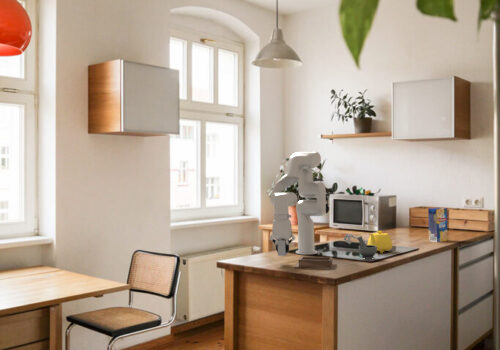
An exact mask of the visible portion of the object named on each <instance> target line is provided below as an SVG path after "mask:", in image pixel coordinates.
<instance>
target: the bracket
mask: <svg viewBox="0 0 500 350" xmlns="http://www.w3.org/2000/svg"><path fill="white" fill-rule="evenodd" d="M358 237H359V236H358V235H355V234H352V233H350V234H349V233H346V234H345V235H344V238H343V241H344V242H346V243H347V244H349V245H351V244H352V243H353V241H352V238H353V239H355V240H358V239H357V238H358ZM362 239H363V241H364V242H365V244H368V239H365V238H362Z"/></svg>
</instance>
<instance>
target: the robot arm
mask: <svg viewBox="0 0 500 350" xmlns="http://www.w3.org/2000/svg"><path fill="white" fill-rule="evenodd" d="M321 162H322V157H321V154H320V153H319V152H318V151H298V152H294V153H292V154H291V155H290V156H289V158H288V161H287V165H286V169H285V173H284V176H282V177H281V178H279V180H278V181H276V183H275V184H274V185H273V187H272V190H271V194H270V203H271V204H272V206H273V212H274V213H273V214H274V216H273V217H274V218H273V220H272V227H271V229H272V230H271V234H270V236H269V238H268V239H269V240H270V241H272V243H274V245H275V251H276V252H277V253H278V240H279V239H281V238H282V239H286V253H287V254H288V252H289V251H290V244H291V243H292V242H293V241H294V240H296V237H295V235H294V234H293V228H292V227H293V226H292V222H291V221H292V220H291V219H290V218H292V215H291V214H289V207H294V206H295V210H296V211H295V212H296V215H297V216H296V217H297V240H298V241H297V242H298V243H297V245H298V246H297V247H298V249H297V250H295V254H297V255H302V256H304V255H305V256H309V255H316V254H318V251H317V250H315V223H314V221H313V219H312V218H311V217H323V216H324V215H326V211H327V208H326V207H327V206H326V205H327V204H326V202H327V200H326V199H327V198H326V197H327V196H326V195H327V192H326V191H327V190H326V186H325V184H324V182H322V181H318V180H317V181H314V177H313V175H314V173H313V171H312V169H315V168H317V167H318V166H320V164H321ZM297 183H298V188H297V189H298V196H300V197H302V198H309V199H301V200H298V196H297V194H296V193H295V192H292V191H290V192H287V191H285V192H284V191H283V190H284V189H286V188H288V187H291V186H292V185H296V184H297ZM310 198H316V199H310Z"/></svg>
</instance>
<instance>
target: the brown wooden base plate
mask: <svg viewBox="0 0 500 350" xmlns="http://www.w3.org/2000/svg"><path fill="white" fill-rule="evenodd" d="M336 267H337V263H333V257H332V256H331V257H330V256H301V257H300V258H299V259H298V263H296V265H295V266H294V269H301V270H302V269H307V270H308V269H309V270H310V269H311V270H314V269H315V270H335V269H336Z"/></svg>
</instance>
